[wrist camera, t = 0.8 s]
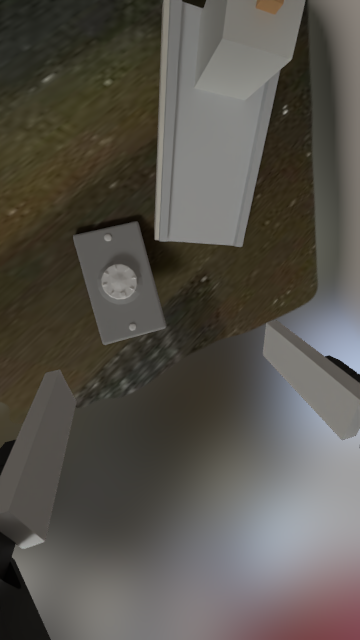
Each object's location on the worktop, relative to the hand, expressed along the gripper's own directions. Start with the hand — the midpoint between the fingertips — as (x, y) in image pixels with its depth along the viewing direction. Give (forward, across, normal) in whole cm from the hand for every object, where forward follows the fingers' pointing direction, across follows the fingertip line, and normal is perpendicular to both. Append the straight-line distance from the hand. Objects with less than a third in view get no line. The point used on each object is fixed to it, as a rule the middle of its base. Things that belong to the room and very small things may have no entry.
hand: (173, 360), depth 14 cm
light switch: (+22, -3, 0) cm, 22 cm away
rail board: (+21, +11, +13) cm, 27 cm away
